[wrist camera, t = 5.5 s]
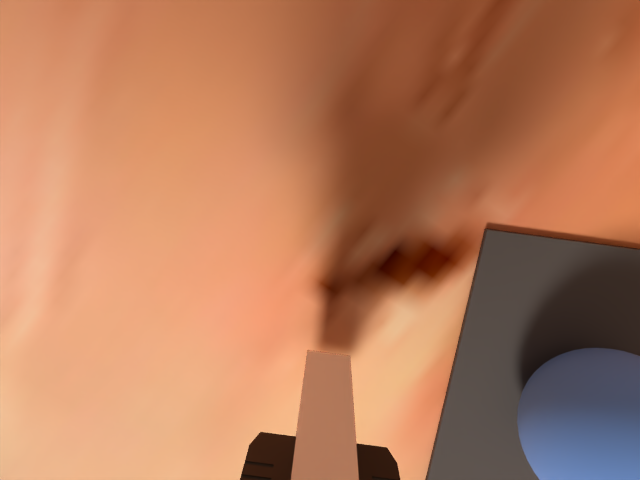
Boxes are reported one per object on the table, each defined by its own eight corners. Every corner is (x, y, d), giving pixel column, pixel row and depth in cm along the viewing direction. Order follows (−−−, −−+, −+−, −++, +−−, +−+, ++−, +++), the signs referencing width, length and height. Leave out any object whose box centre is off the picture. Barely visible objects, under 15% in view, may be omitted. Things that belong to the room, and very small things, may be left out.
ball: (652, 472, 16) (500, 423, 18) (704, 345, 14) (531, 306, 16) (726, 623, 11) (503, 533, 13) (816, 455, 9) (549, 380, 11)
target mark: (421, 497, 18) (422, 501, 18) (485, 228, 15) (486, 230, 15) (697, 533, 18) (701, 538, 18) (818, 273, 15) (824, 274, 15)
